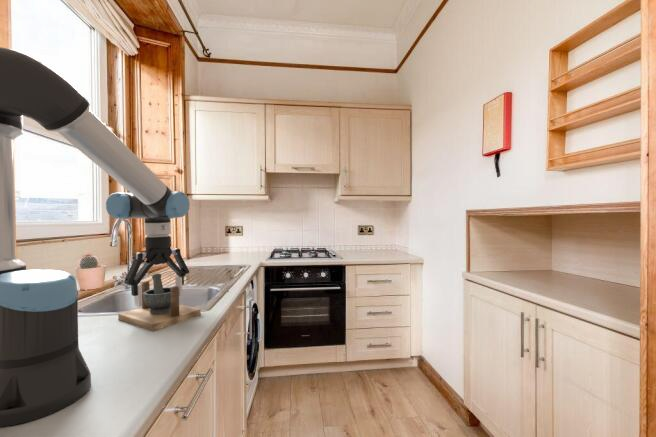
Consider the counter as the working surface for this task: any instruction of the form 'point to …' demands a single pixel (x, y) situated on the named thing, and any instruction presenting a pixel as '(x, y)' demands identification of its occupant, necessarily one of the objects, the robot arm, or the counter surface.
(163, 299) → the mortar and pestle
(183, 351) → the counter surface
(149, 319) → the peg board
